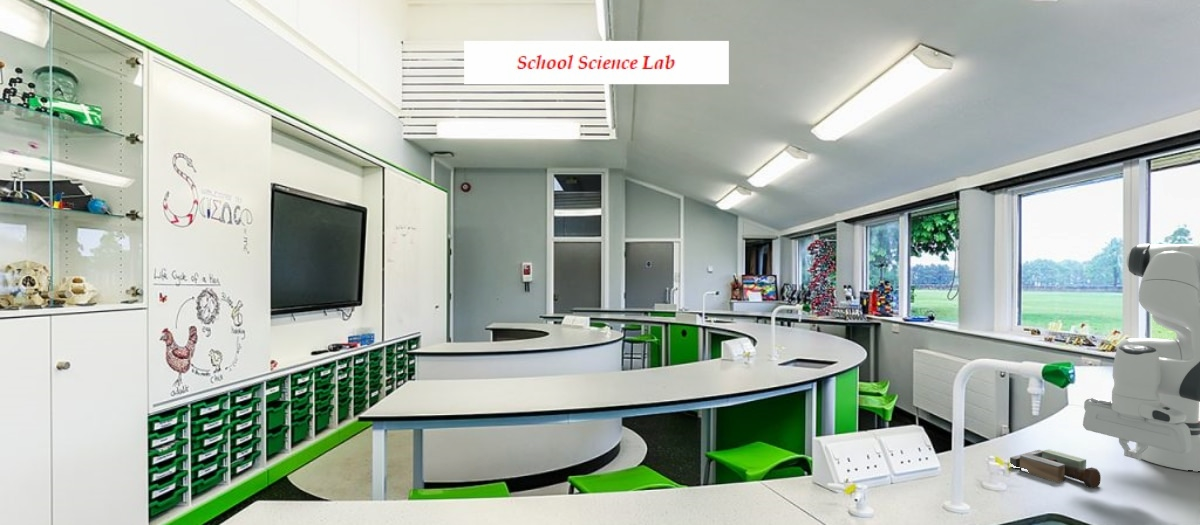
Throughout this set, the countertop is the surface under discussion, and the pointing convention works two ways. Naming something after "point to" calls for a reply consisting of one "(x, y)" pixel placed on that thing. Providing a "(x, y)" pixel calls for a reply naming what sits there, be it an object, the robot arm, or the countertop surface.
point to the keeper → (1047, 463)
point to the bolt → (1082, 474)
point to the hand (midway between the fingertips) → (1132, 457)
